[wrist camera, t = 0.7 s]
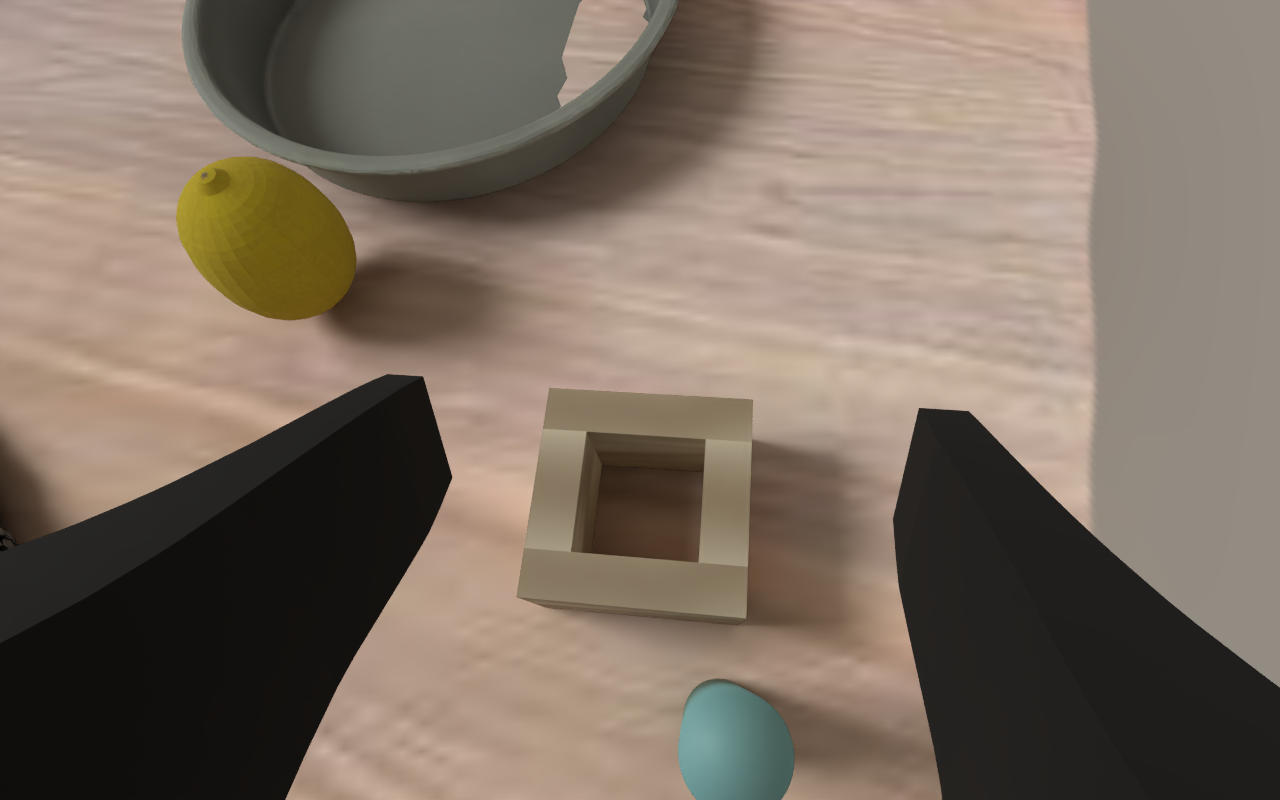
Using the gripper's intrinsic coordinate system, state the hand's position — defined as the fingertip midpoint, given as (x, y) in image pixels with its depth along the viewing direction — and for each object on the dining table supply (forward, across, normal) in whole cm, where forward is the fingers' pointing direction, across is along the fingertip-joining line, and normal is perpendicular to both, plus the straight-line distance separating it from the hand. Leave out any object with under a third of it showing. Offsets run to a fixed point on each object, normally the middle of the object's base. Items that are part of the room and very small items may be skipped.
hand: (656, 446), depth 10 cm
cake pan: (+30, +16, -2) cm, 34 cm away
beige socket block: (+10, +2, +12) cm, 15 cm away
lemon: (+16, +18, +6) cm, 25 cm away
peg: (+5, -1, +15) cm, 16 cm away
